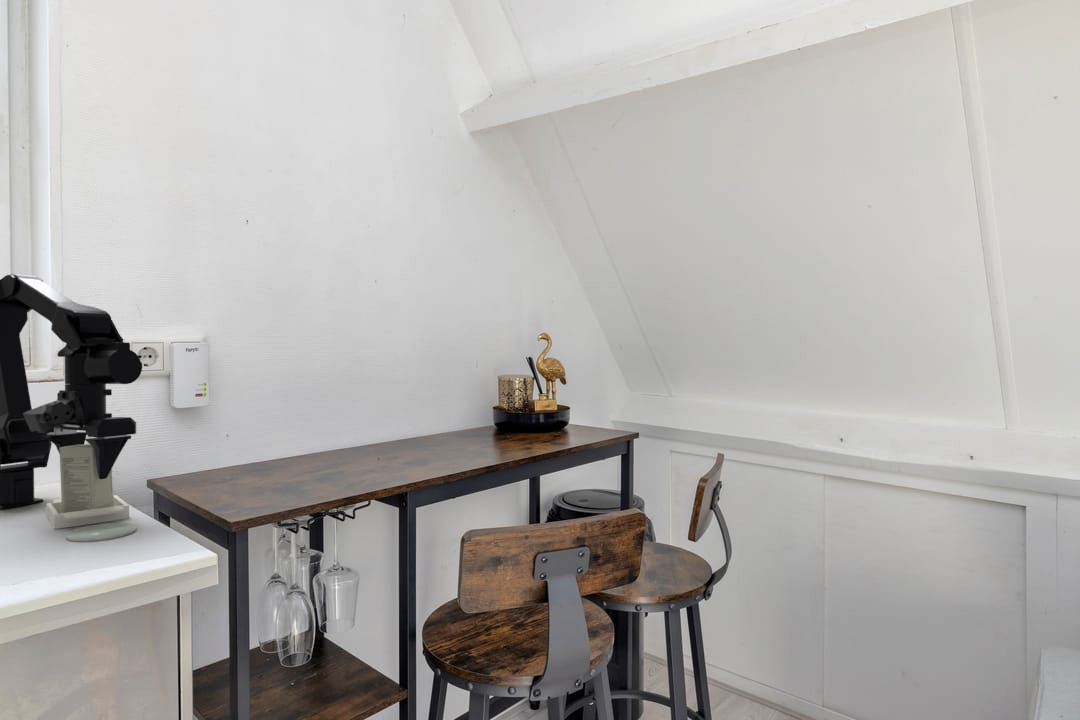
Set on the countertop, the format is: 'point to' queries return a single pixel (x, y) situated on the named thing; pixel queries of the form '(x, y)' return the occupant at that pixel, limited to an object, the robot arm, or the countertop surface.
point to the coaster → (100, 532)
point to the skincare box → (83, 480)
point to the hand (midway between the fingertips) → (86, 476)
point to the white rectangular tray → (85, 514)
